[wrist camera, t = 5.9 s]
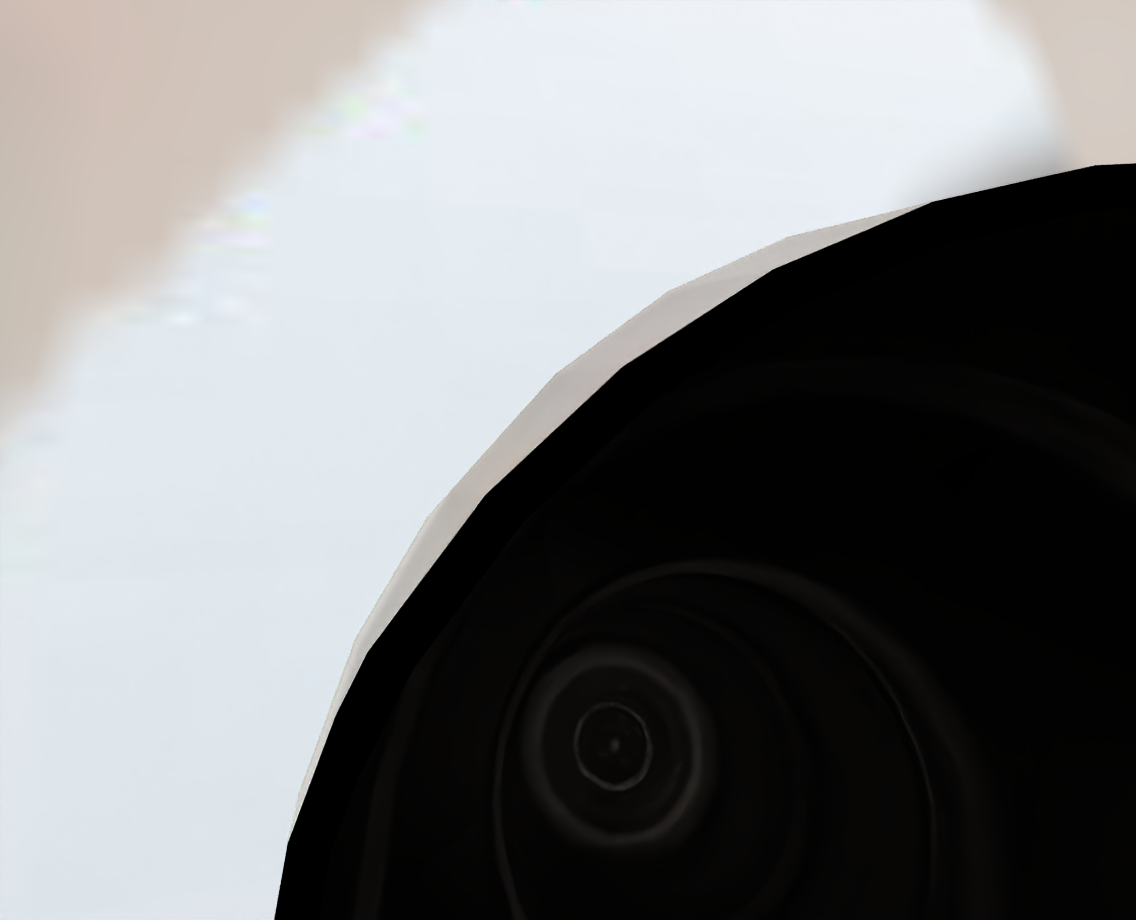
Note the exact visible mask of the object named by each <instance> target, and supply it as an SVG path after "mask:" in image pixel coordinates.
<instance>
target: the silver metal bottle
mask: <svg viewBox="0 0 1136 920" xmlns="http://www.w3.org/2000/svg"><path fill="white" fill-rule="evenodd" d="M274 920H1136V163H1134V164H1113V165H1095V166H1090V167H1086V168H1081V169H1076V170H1072V171H1067V172H1063V173H1058V174H1054V175H1049V176H1045V177H1040V178H1036V179H1031V180H1027V181H1023V182H1018V183H1014V184H1009V185H1005V186H1000V187H996V188H992V189H987V190H983V191H978V192H974V193H969V194H965V195H961V196H956V197H952V198H947V199H943V200H938V201H934V202H930V203H926V204H921V205H917V206H913V207H909V208H905V209H901V210H897V211H893V212H889V213H884V214H880V215H876V216H872V217H868V218H864V219H860V220H856V221H852V222H847V223H843V224H839V225H835V226H831V227H827V228H823V229H819V230H815V231H810V232H806V233H802V234H798V235H794V236H790V237H787V238H784V239H782V240H780V241H778V242H776V243H773V244H771V245H769V246H767V247H765V248H762V249H760V250H758V251H756V252H754V253H751V254H749V255H747V256H745V257H743V258H740V259H738V260H736V261H734V262H732V263H729V264H727V265H725V266H723V267H721V268H718V269H716V270H714V271H712V272H710V273H707V274H705V275H703V276H701V277H699V278H696V279H694V280H692V281H690V282H688V283H686V284H683V285H681V286H679V287H677V288H675V289H672V290H670V291H668V292H667V293H665V294H664V295H662V296H661V297H660V298H658V299H657V300H656V301H654V302H653V303H652V304H650V305H649V306H648V307H646V308H645V309H643V310H642V311H641V312H639V313H638V314H637V315H635V316H634V317H633V318H631V319H630V320H628V321H627V322H626V323H624V324H623V325H622V326H620V327H619V328H618V329H616V330H615V331H613V332H612V333H611V334H609V335H608V336H607V337H605V338H604V339H603V340H601V341H600V342H599V343H597V344H596V345H594V346H593V347H592V348H590V349H589V350H588V351H586V352H585V353H584V354H582V355H581V356H579V357H578V358H577V359H575V360H574V361H573V362H571V363H570V364H569V365H567V366H566V367H564V368H563V369H562V370H560V371H559V372H558V373H556V374H555V375H554V376H553V378H552V379H551V380H550V381H549V382H548V383H547V384H546V385H545V386H544V387H543V389H542V390H541V391H540V392H539V393H538V394H537V395H536V396H535V397H534V398H533V399H532V401H531V402H530V403H529V404H528V405H527V406H526V407H525V408H524V409H523V410H522V412H521V413H520V414H519V415H518V416H517V417H516V418H515V419H514V420H513V421H512V423H511V424H510V425H509V426H508V427H507V428H506V429H505V430H504V432H503V433H502V434H501V435H500V436H499V437H498V438H497V439H496V440H495V442H494V443H493V444H492V445H491V446H490V447H489V448H488V449H487V451H486V452H485V453H484V454H483V455H482V456H481V457H480V458H479V460H478V461H477V462H476V463H475V464H474V465H473V466H472V467H471V468H470V470H469V471H468V472H467V473H466V474H465V475H464V476H463V477H462V479H461V480H460V481H459V482H458V483H457V484H456V485H455V486H454V488H453V489H452V490H451V491H450V492H449V493H448V494H447V495H446V497H445V498H444V499H443V500H442V501H441V502H440V503H439V504H438V505H437V507H436V508H435V509H434V510H433V511H432V512H431V513H430V514H429V516H428V517H427V518H426V520H425V521H424V523H423V525H422V527H421V528H420V530H419V532H418V533H417V535H416V537H415V538H414V540H413V542H412V544H411V545H410V547H409V549H408V550H407V552H406V554H405V555H404V557H403V559H402V560H401V562H400V564H399V566H398V567H397V569H396V571H395V572H394V574H393V576H392V577H391V579H390V581H389V582H388V584H387V586H386V588H385V589H384V591H383V593H382V594H381V596H380V598H379V599H378V601H377V603H376V604H375V606H374V608H373V610H372V611H371V613H370V615H369V616H368V618H367V620H366V621H365V623H364V625H363V627H362V628H361V630H360V632H359V633H358V635H357V637H356V638H355V640H354V643H353V645H352V648H351V651H350V654H349V656H348V659H347V662H346V665H345V667H344V670H343V673H342V676H341V678H340V681H339V684H338V687H337V689H336V692H335V695H334V698H333V700H332V703H331V706H330V709H329V711H328V714H327V717H326V720H325V722H324V725H323V728H322V731H321V733H320V736H319V739H318V741H317V744H316V747H315V750H314V752H313V755H312V758H311V761H310V763H309V766H308V769H307V772H306V774H305V777H304V780H303V783H302V785H301V788H300V791H299V794H298V798H297V802H296V807H295V811H294V816H293V821H292V825H291V830H290V835H289V839H288V844H287V850H286V856H285V862H284V867H283V873H282V878H281V884H280V890H279V895H278V901H277V907H276V913H275V918H274Z"/></svg>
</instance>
